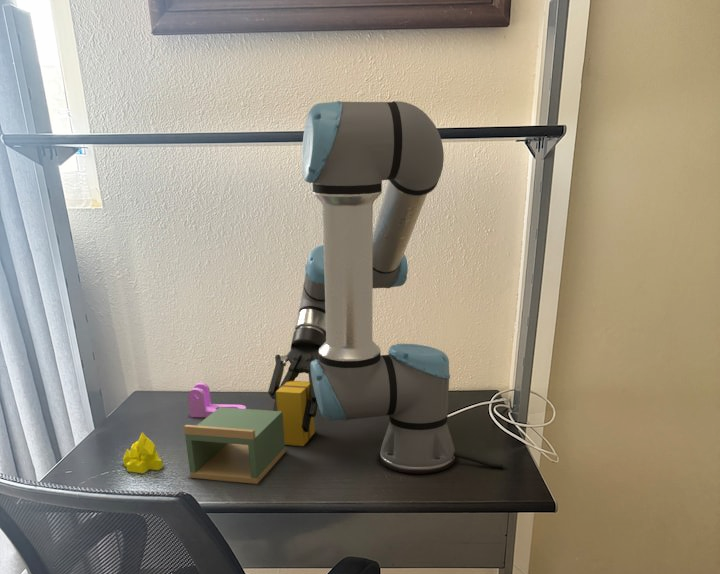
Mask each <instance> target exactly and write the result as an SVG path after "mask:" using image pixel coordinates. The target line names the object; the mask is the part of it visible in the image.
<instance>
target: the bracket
mask: <svg viewBox="0 0 720 574" xmlns="http://www.w3.org/2000/svg"><path fill="white" fill-rule="evenodd" d="M187 401H188V408H189V415H190V418H207V417H208V416H209V415H211V414H212V413H213V412H214V411H216V410H217V409H218V408H220V407H225V408H239V409H247V406H246V405H243V404H227V403H226V404H224V403H223V404H221V403H220V404H219V403H217V404H216V403H212V398H211V389H210V386H209V385H208V384H207V383H205V382H198V383H196V384H195V385H194V386H193V388H192V389H190V391H189V392H188V394H187Z"/></svg>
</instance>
